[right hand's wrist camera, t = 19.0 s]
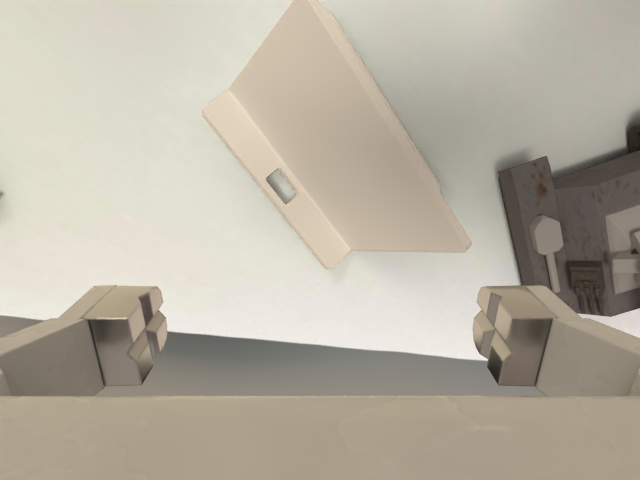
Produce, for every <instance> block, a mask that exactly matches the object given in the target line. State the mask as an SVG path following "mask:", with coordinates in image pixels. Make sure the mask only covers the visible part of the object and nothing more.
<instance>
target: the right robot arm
mask: <svg viewBox="0 0 640 480" xmlns="http://www.w3.org/2000/svg"><path fill="white" fill-rule="evenodd" d="M162 303H163V299H162V294H161V290H160V289H159V288H158V287H157V286H117V285H107V286H94V287H93V288H92V289H91V290H89V291H88V292H87V293H86V294H85V295H84V296H83V297H81V298H80V299H79V300H78V301H77V302H76V303H75V304H74V305H72V306H71V307H70V308H69V309H68V310H67V311H66V312H64V313H63V314H62V315H61V316H60V317H59V318H58V319H49V320H46V321H43V322H41V323H38V324H36V325H33V326H31V327H28V328H25V329H23V330H20V331H18V332H15V333H13V334H10V335H8V336H5V337H2V338H0V480H640V338H638V337H635V336H632V335H630V334H627V333H625V332H622V331H620V330H617V329H615V328H612V327H609V326H607V325H604V324H602V323H599V322H597V321H594V320H591V319H582V318H581V317H580V316H579V315H578V314H577V313H576V312H574V311H573V310H572V309H571V308H570V307H569V306H568V305H567V304H565V303H564V302H563V301H562V300H561V299H560V298H559V297H557V296H556V295H555V294H554V293H553V292H552V291H551V290H550V289H548V288H547V287H546V286H542V285H534V286H486V287H481V289H480V291H479V293H478V298H477V303H478V305H479V307H480V308H481V311H480V312H479V313H478V314H477V315H476V316H475V317H474V323H473V338H474V342H475V345H476V348H477V350H478V352H479V353H480V354H481V355H482V356H484V357H486V358H487V359H488V364H487V367H488V369H489V370H490V372H491V374H492V375H493V377H494V379H495V380H496V382H497V383H498V385H503V386H536V389H538V390H539V391H540V392H542V393H543V394H544V395H546V396H94V395H96V394H97V393H98V392H100V391H101V390H103V389H104V386H136V385H142V384H143V382H144V380H145V378H146V377H147V375H148V374H149V372H150V370H151V369H152V367H153V364H152V359H153V358H154V357H156V356H158V355H159V354H160V353H161V352H162V350H163V348H164V346H165V341H166V337H167V322H166V317H165V316H164V315H163V314H162V313H161V312H160V311H159V308H160V307H161V305H162Z"/></svg>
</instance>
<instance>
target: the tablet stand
mask: <svg viewBox="0 0 640 480" xmlns="http://www.w3.org/2000/svg"><path fill="white" fill-rule="evenodd" d="M202 115H203V117H204V118H205V120H206V121H207V122H208V123H209V125H210V126H211V127H212V128H213V130H214V131H215V132H216V133H217V135H218V136H219V137H220V138H221V140H222V141H223V142H224V143H225V145H226V146H227V147H228V148H229V150H230V151H231V152H232V153H233V155H234V156H235V157H236V158H237V160H238V161H239V162H240V163H241V165H242V166H243V167H244V168H245V170H246V171H247V172H248V173H249V175H250V176H251V177H252V178H253V180H254V181H255V182H256V183H257V185H258V186H259V187H260V188H261V190H262V191H263V192H264V193H265V194H266V196H267V197H268V198H269V199H270V201H271V202H272V203H273V204H274V206H275V207H276V208H277V209H278V211H279V212H280V213H281V214H282V216H283V217H284V218H285V219H286V221H287V222H288V223H289V224H290V226H291V227H292V228H293V229H294V231H295V232H296V233H297V234H298V236H299V237H300V238H301V239H302V241H303V242H304V243H305V244H306V246H307V247H308V248H309V249H310V251H311V252H312V253H313V254H314V256H315V257H316V258H317V259H318V261H319V262H320V263H321V264H322V266H323V267H324V268H326V269H334V268H335V267H336V266H337V265H338V264H339V263H340V261H341V260H342V259H343V258H344V257H345V256H346V255H347V254H348V253H349V252H350V251H399V252H448V253H465V252H466V251H467V250H468V248H469V247H470V246H471V244H472V243H471V240H470V239H469V237H468V235H467V234H466V232H465V231H464V229H463V227H462V226H461V224H460V223H459V221H458V220H457V218H456V216H455V215H454V213H453V212H452V210H451V209H450V207H449V205H448V204H447V202H446V201H445V199H444V197H443V196H442V194H441V193H440V190H441V186H440V184H439V183H438V181H437V180H436V178H435V176H434V175H433V173H432V172H431V170H430V169H429V167H428V165H427V164H426V162H425V161H424V159H423V157H422V156H421V154H420V153H419V151H418V149H417V148H416V146H415V145H414V143H413V142H412V140H411V138H410V137H409V135H408V134H407V132H406V130H405V129H404V127H403V126H402V124H401V122H400V121H399V119H398V118H397V116H396V115H395V113H394V111H393V110H392V108H391V107H390V105H389V103H388V102H387V100H386V99H385V97H384V95H383V94H382V92H381V91H380V89H379V88H378V86H377V84H376V83H375V81H374V80H373V78H372V76H371V75H370V73H369V72H368V70H367V68H366V67H365V65H364V64H363V62H362V61H361V59H360V57H359V56H358V54H357V53H356V51H355V49H354V48H353V46H352V45H351V43H350V41H349V40H348V38H347V37H346V35H345V33H344V32H343V30H342V29H341V27H340V26H339V24H338V22H337V21H336V19H335V18H334V16H333V14H332V13H331V12H330V11H328V10H324V8H323V6H322V5H321V3H320V2H319V0H294V1H293V2H292V4H291V5H290V6H289V8H288V9H287V11H286V12H285V13H284V15H283V16H282V17H281V19H280V20H279V21H278V23H277V24H276V26H275V27H274V28H273V30H272V31H271V32H270V34H269V35H268V36H267V38H266V39H265V40H264V42H263V43H262V45H261V46H260V47H259V49H258V50H257V51H256V53H255V54H254V55H253V57H252V58H251V60H250V61H249V62H248V64H247V65H246V66H245V68H244V69H243V70H242V72H241V73H240V74H239V76H238V77H237V79H236V80H235V81H234V83H233V84H232V85H231V87H230V88H229V89H228V90H227V91H226V92H224V93H223V94H221V95H220V96H219V97H217V98H216V99H214V100H213V101H211V102H210V103H209V104H207V105H206V106H205V107H204V109H203V111H202ZM276 169H278V170H279V171H280V173H281V174H282V175H283V177H284V178H285V179H286V180H287V182H288V183H289V184H290V186H291V187H292V188H293V190H294V191H295V192H296V195H295V196H294V197H293V198H292V199H291V200H290V201H289V202H288V203H286V204H284V203H283V201H282V200H281V199H280V198H279V196H278V195H277V194H276V192H275V191H274V190H273V189H272V187H271V186H270V185H269V184H268V182H267V181H266V178H267V177H268V176H269V175H270V174H271V173H272V172H273V171H275V170H276Z"/></svg>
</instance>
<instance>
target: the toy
mask: <svg viewBox="0 0 640 480" xmlns="http://www.w3.org/2000/svg"><path fill="white" fill-rule="evenodd" d="M628 138H629V148H630V154H627V155H624V156H621V157H619V158H616V159H613V160H610V161H607V162H604V163H601V164H598V165H596V166H593V167H590V168H587V169H584V170H581V171H578V172H576V173H573V174H570V175H567V176H564V177H561V178H558V179H555V180H552V174H551V169H550V165H549V162H548V159H547V156H545V157H542V158H539V159H536V160H533V161H530V162H527V163H525V164H522V165H519V166H516V167H513V168H510V169H507V170H502V171H499V183H500V187H501V192H502V196H503V200H504V205H505V209H506V214H507V218H508V223H509V227H510V232H511V236H512V241H513V245H514V250H515V254H516V258H517V263H518V267H519V272H520V276H521V281H522V285H523V286H534V285H542V286H546V287H547V288H548V289H550V290H551V291H552V292H553V293H554V294H555V295H556V296H557V297H559V298H560V299H561V300H562V301H563V302H564V303H565V304H567V305H568V306H569V307H570V308H571V309H572V310H573V311H574V312H576V313H580V314H590V315H600V316H610V317H611V316H615V315H618V314H621V313H625V312H628V311H631V310H635V309H638V308H640V124H639V125H637V126H634V127H632V128H631V129H630V130H629V133H628Z"/></svg>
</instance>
